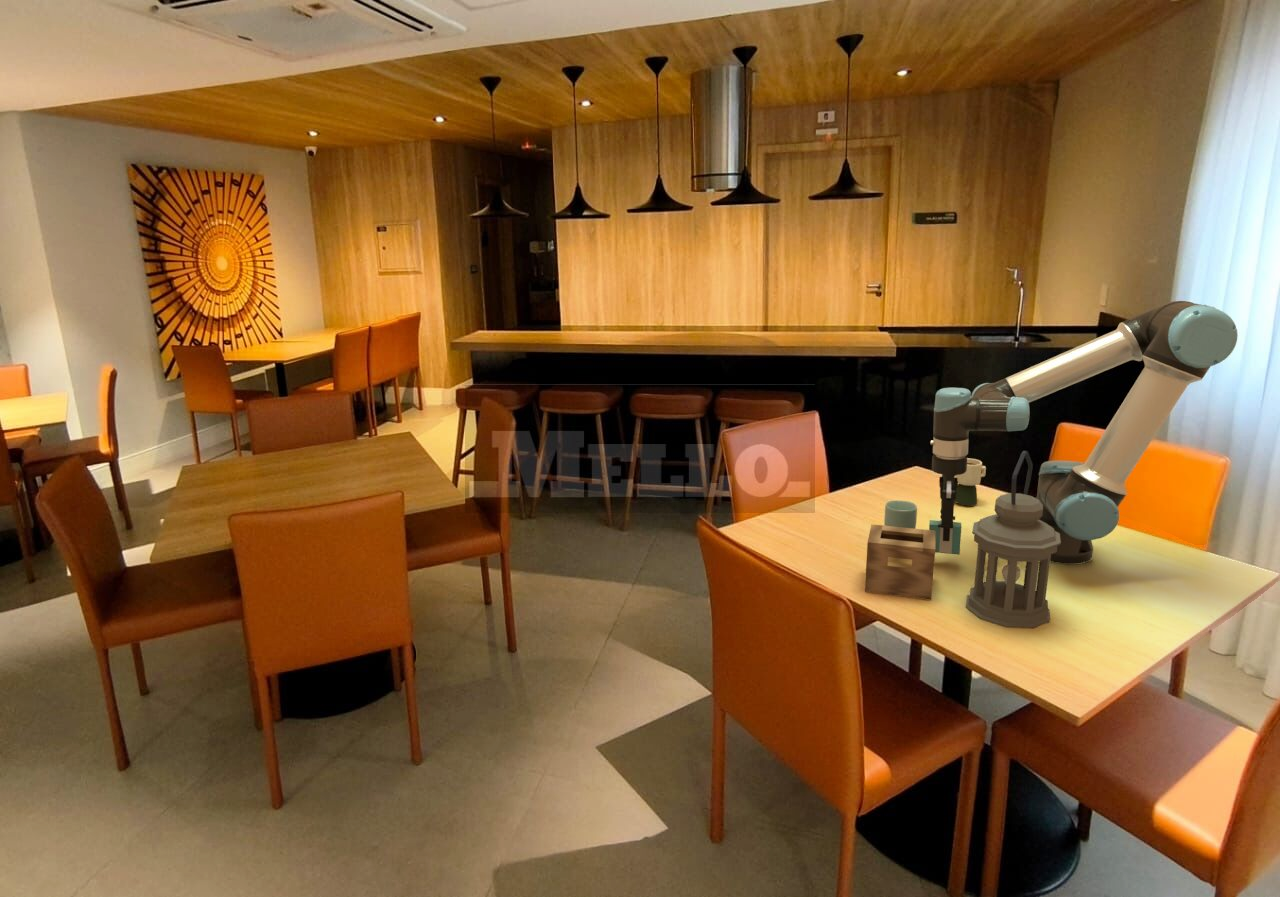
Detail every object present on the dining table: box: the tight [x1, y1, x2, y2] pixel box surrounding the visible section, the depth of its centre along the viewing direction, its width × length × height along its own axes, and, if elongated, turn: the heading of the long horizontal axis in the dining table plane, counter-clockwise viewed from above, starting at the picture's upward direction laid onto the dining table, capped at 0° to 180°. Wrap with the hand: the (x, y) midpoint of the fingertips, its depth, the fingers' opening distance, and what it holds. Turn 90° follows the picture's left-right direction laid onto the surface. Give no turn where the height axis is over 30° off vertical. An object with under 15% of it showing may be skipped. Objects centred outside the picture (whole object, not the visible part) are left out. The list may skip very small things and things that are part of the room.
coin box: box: [864, 523, 936, 601], centre depth 170 cm, size 14×11×12 cm
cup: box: [883, 500, 918, 529], centre depth 194 cm, size 8×8×10 cm
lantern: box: [964, 450, 1061, 630], centre depth 155 cm, size 17×17×35 cm
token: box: [928, 519, 963, 556], centre depth 179 cm, size 7×3×7 cm, turn 69°
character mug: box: [954, 457, 987, 507], centre depth 218 cm, size 11×7×13 cm, turn 98°
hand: (945, 548), depth 180 cm, fingers closed on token, 3 cm apart
